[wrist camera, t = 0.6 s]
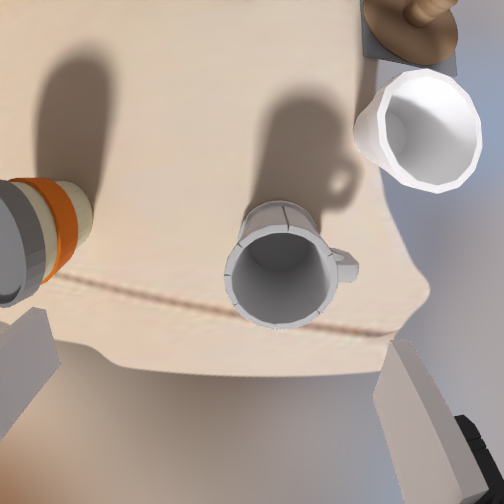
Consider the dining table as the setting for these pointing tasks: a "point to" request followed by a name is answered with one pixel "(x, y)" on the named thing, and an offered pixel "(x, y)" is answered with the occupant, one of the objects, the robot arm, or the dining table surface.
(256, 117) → the dining table surface
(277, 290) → the cup
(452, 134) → the foam cup
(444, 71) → the mat
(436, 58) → the lid
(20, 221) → the reusable coffee cup
